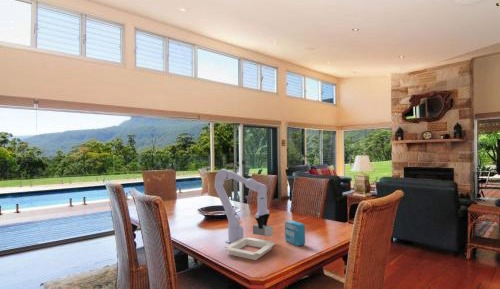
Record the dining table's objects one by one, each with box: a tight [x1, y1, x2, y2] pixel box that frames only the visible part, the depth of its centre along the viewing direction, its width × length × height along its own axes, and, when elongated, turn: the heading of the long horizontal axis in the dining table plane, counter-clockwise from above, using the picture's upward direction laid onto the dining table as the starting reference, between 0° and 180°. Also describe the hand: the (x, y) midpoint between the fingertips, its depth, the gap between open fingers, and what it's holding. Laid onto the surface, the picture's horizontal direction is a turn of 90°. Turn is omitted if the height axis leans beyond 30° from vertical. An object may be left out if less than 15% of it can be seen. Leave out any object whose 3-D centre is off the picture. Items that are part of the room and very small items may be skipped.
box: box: [252, 223, 274, 237], centre depth 171 cm, size 4×11×5 cm, turn 60°
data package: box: [284, 220, 306, 247], centre depth 167 cm, size 12×4×12 cm, turn 36°
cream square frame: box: [224, 237, 276, 261], centre depth 154 cm, size 22×21×4 cm
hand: (262, 227), depth 171 cm, fingers closed on box, 4 cm apart
